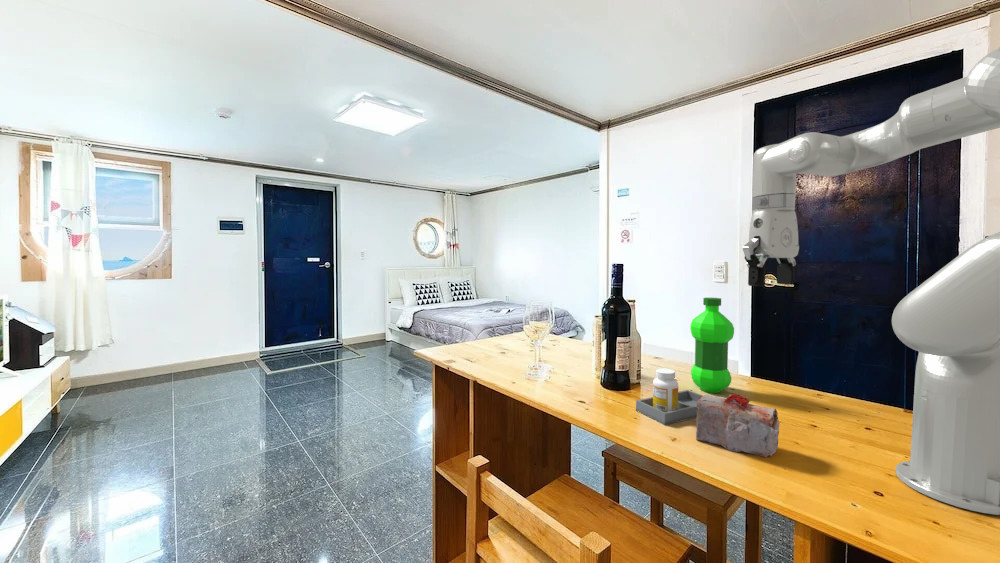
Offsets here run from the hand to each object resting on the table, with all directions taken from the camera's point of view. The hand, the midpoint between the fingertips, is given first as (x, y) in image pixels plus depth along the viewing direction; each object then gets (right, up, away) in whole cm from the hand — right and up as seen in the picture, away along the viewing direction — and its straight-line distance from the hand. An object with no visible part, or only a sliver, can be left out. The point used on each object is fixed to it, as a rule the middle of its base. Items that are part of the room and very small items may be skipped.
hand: (771, 284), depth 83 cm
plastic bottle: (-1, -29, +22) cm, 36 cm away
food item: (-13, -31, -9) cm, 35 cm away
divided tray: (-17, -30, +8) cm, 35 cm away
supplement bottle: (-20, -30, +6) cm, 37 cm away
